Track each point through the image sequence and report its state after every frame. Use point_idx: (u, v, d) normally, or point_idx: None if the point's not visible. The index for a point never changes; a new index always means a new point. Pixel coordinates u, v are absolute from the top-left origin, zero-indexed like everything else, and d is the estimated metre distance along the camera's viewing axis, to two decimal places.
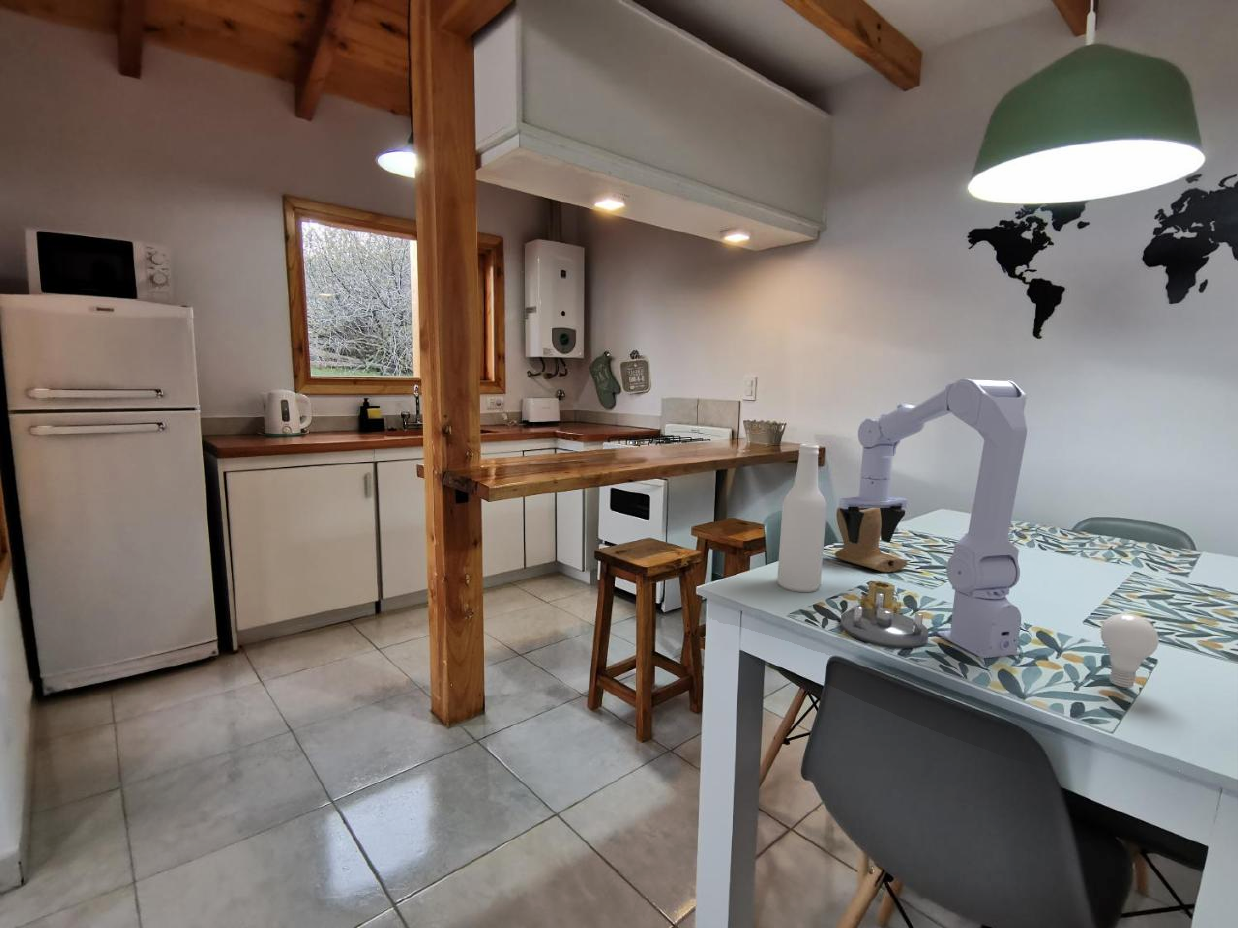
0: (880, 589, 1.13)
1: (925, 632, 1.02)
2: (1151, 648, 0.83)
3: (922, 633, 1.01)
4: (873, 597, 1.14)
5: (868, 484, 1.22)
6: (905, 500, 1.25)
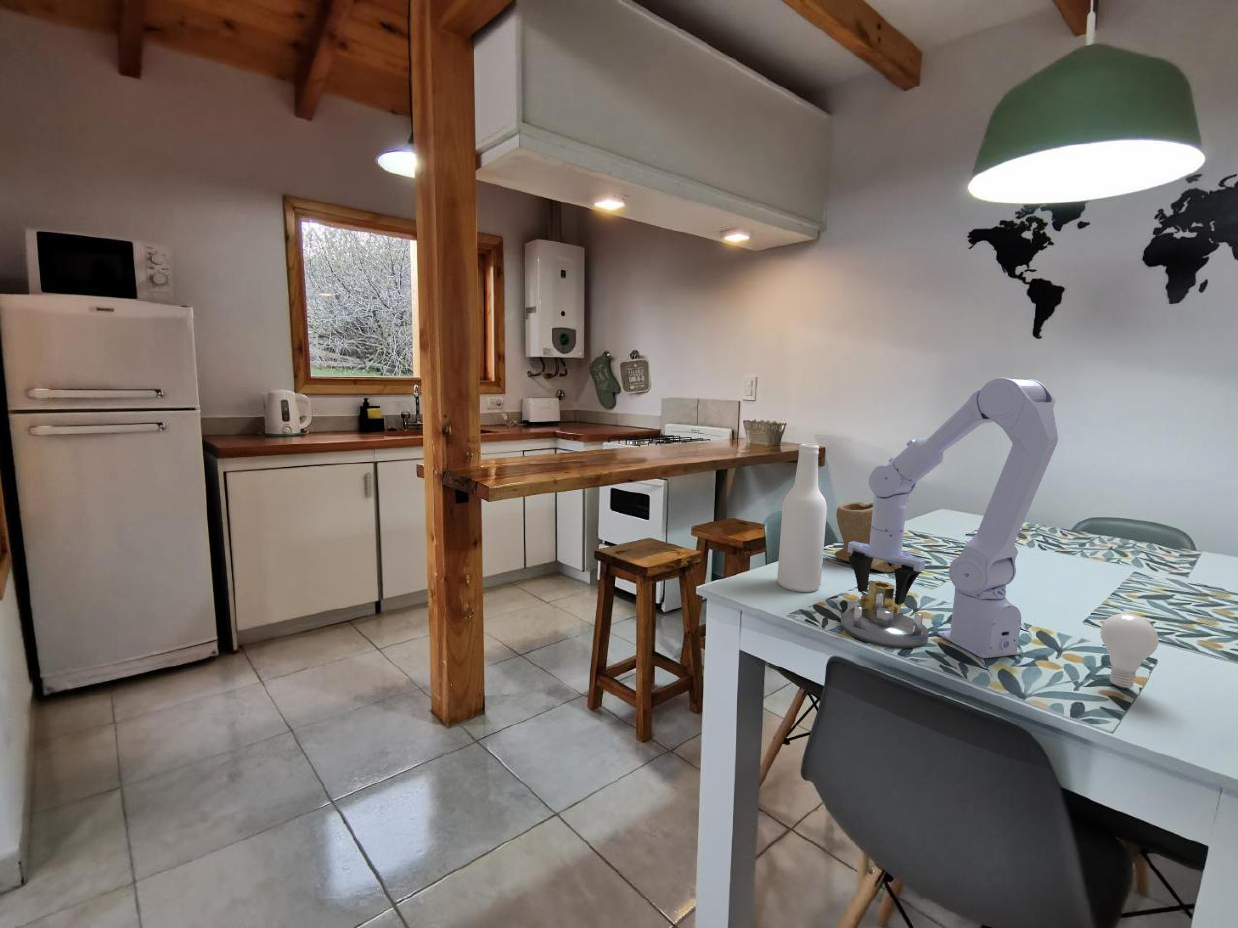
0: (880, 589, 1.13)
1: (925, 632, 1.02)
2: (1151, 648, 0.83)
3: (922, 633, 1.01)
4: (873, 597, 1.14)
5: None
6: (917, 562, 1.08)
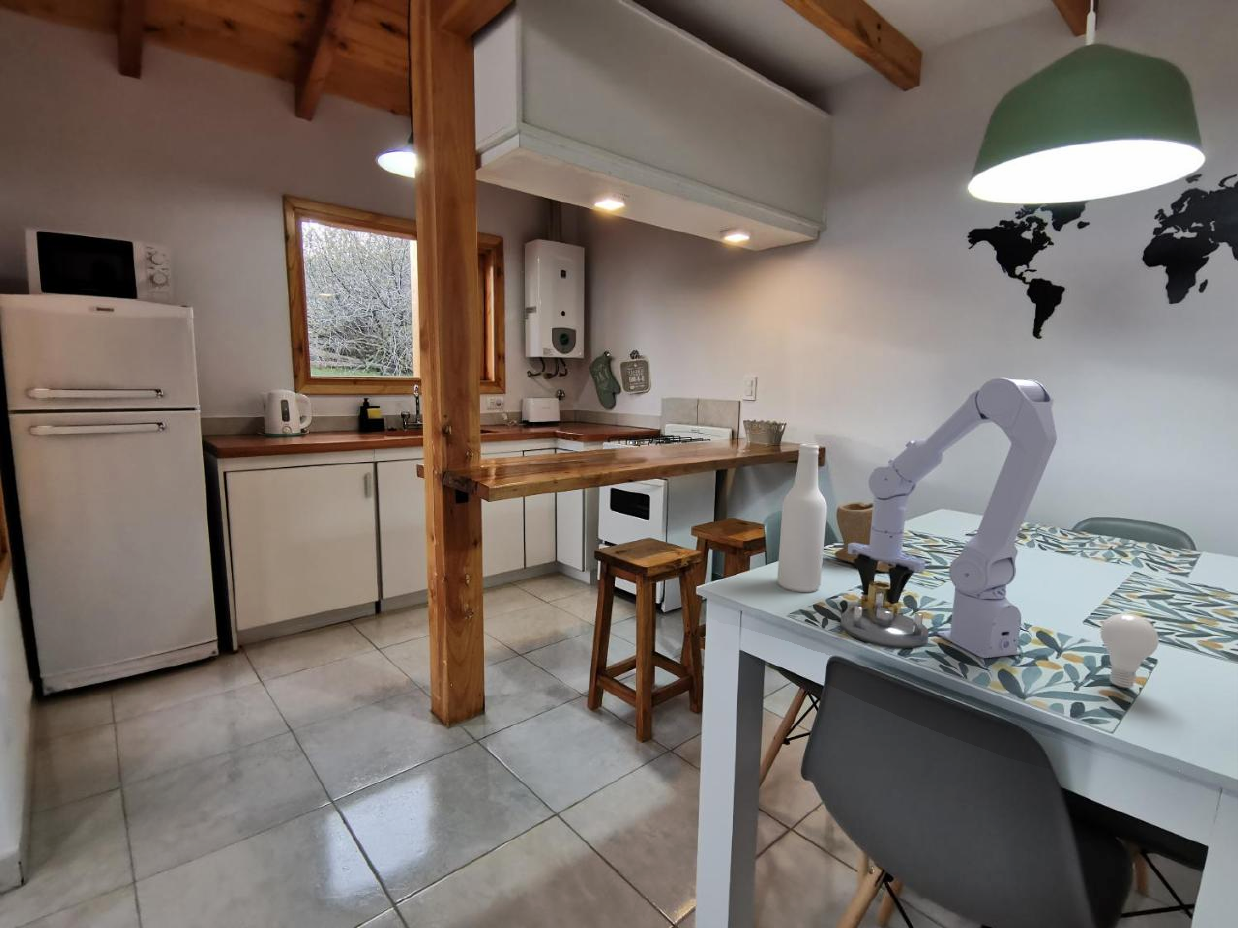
0: (880, 589, 1.13)
1: (925, 632, 1.02)
2: (1151, 648, 0.83)
3: (922, 633, 1.01)
4: (873, 597, 1.14)
5: None
6: (917, 563, 1.08)
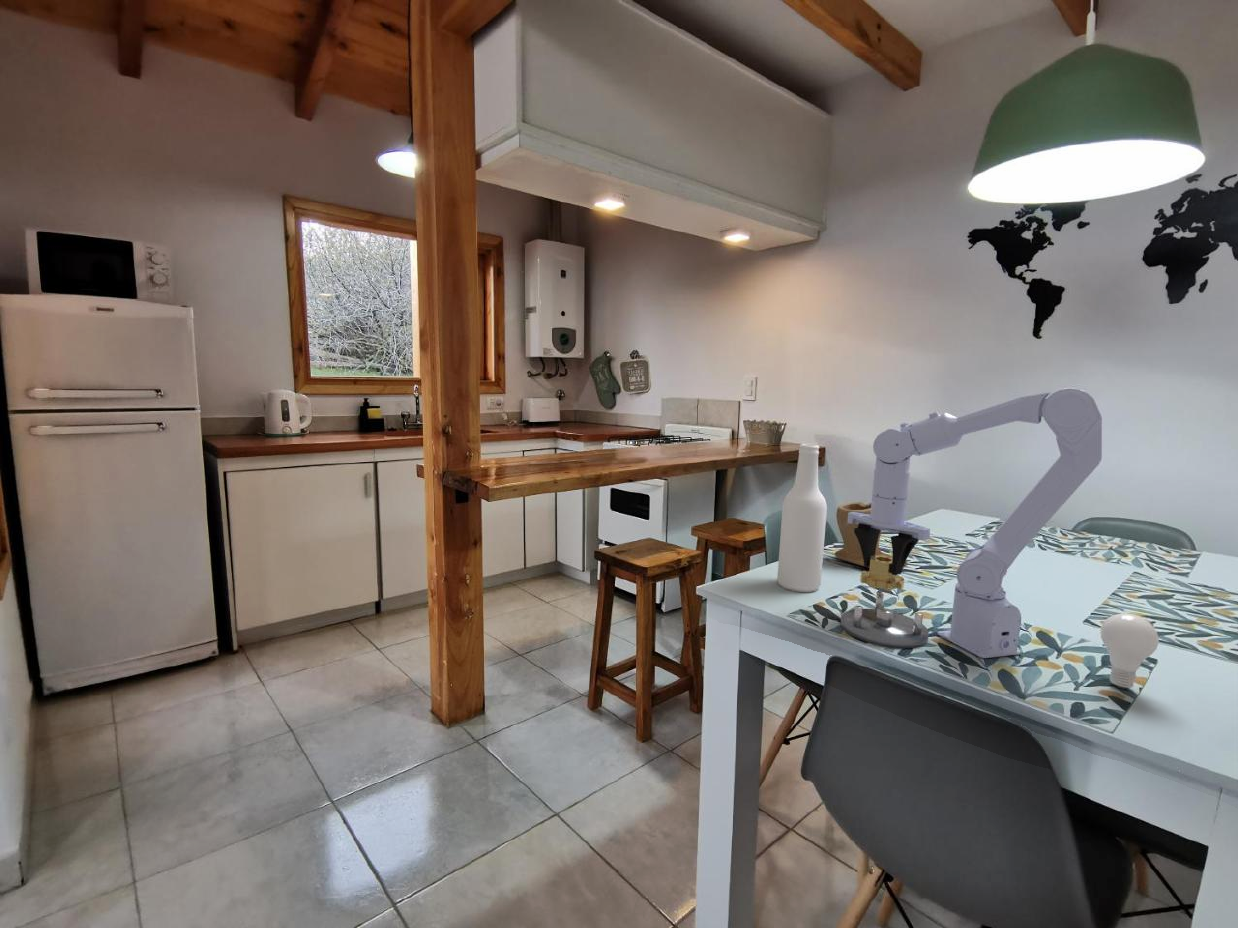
0: (883, 564, 1.07)
1: (925, 632, 1.02)
2: (1151, 648, 0.83)
3: (922, 633, 1.01)
4: (875, 572, 1.08)
5: None
6: (921, 530, 1.02)
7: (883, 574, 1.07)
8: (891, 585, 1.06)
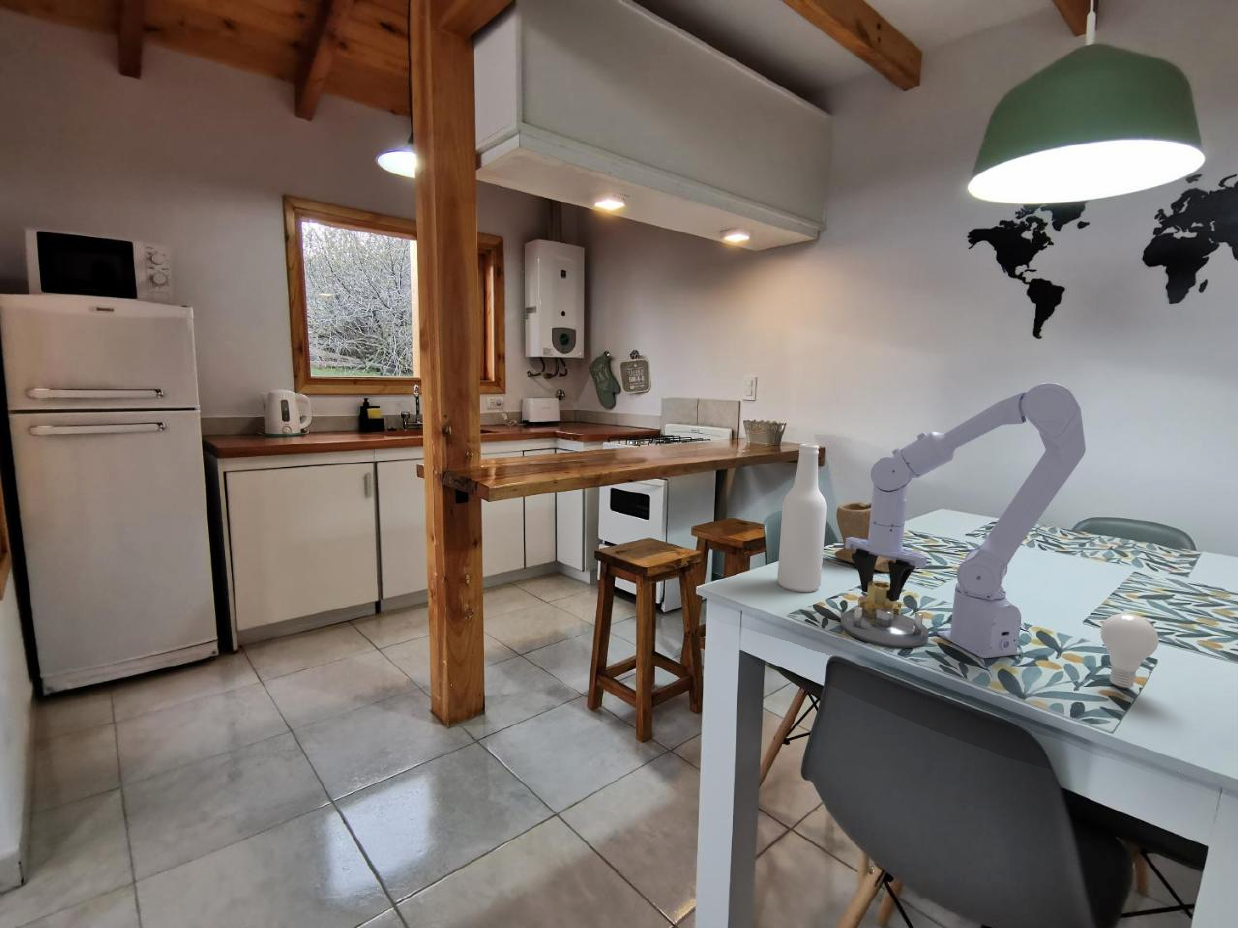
0: (880, 590, 1.07)
1: (925, 632, 1.02)
2: (1151, 648, 0.83)
3: (922, 633, 1.01)
4: (873, 598, 1.08)
5: (869, 526, 1.09)
6: (918, 558, 1.02)
7: (880, 600, 1.08)
8: None
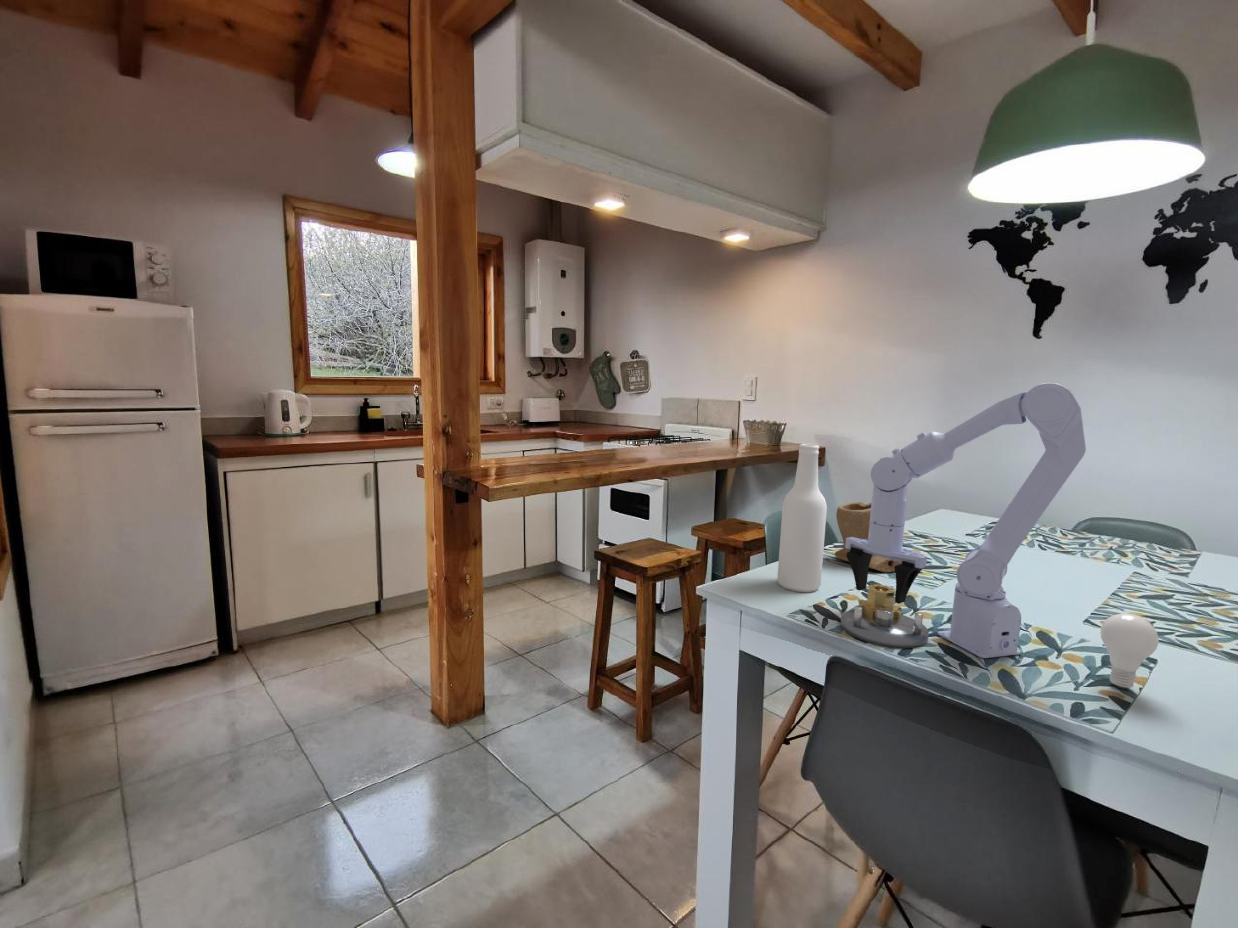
0: (881, 593, 1.08)
1: (925, 632, 1.02)
2: (1151, 648, 0.83)
3: (922, 633, 1.01)
4: (873, 602, 1.08)
5: (869, 526, 1.09)
6: (918, 558, 1.02)
7: (881, 603, 1.08)
8: None
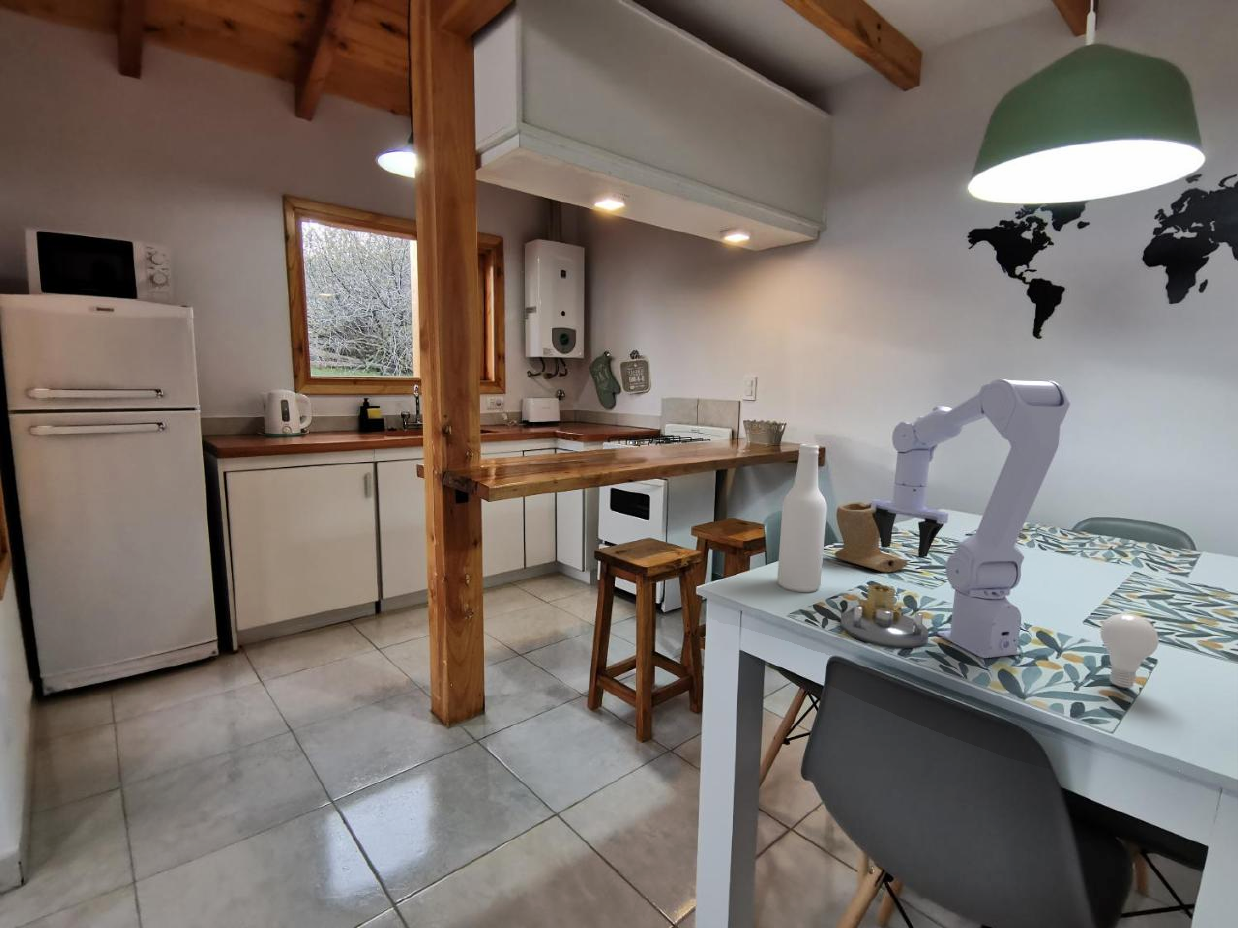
0: (881, 593, 1.08)
1: (925, 632, 1.02)
2: (1151, 648, 0.83)
3: (922, 633, 1.01)
4: (873, 602, 1.08)
5: (894, 487, 1.19)
6: (940, 515, 1.12)
7: (881, 603, 1.08)
8: None
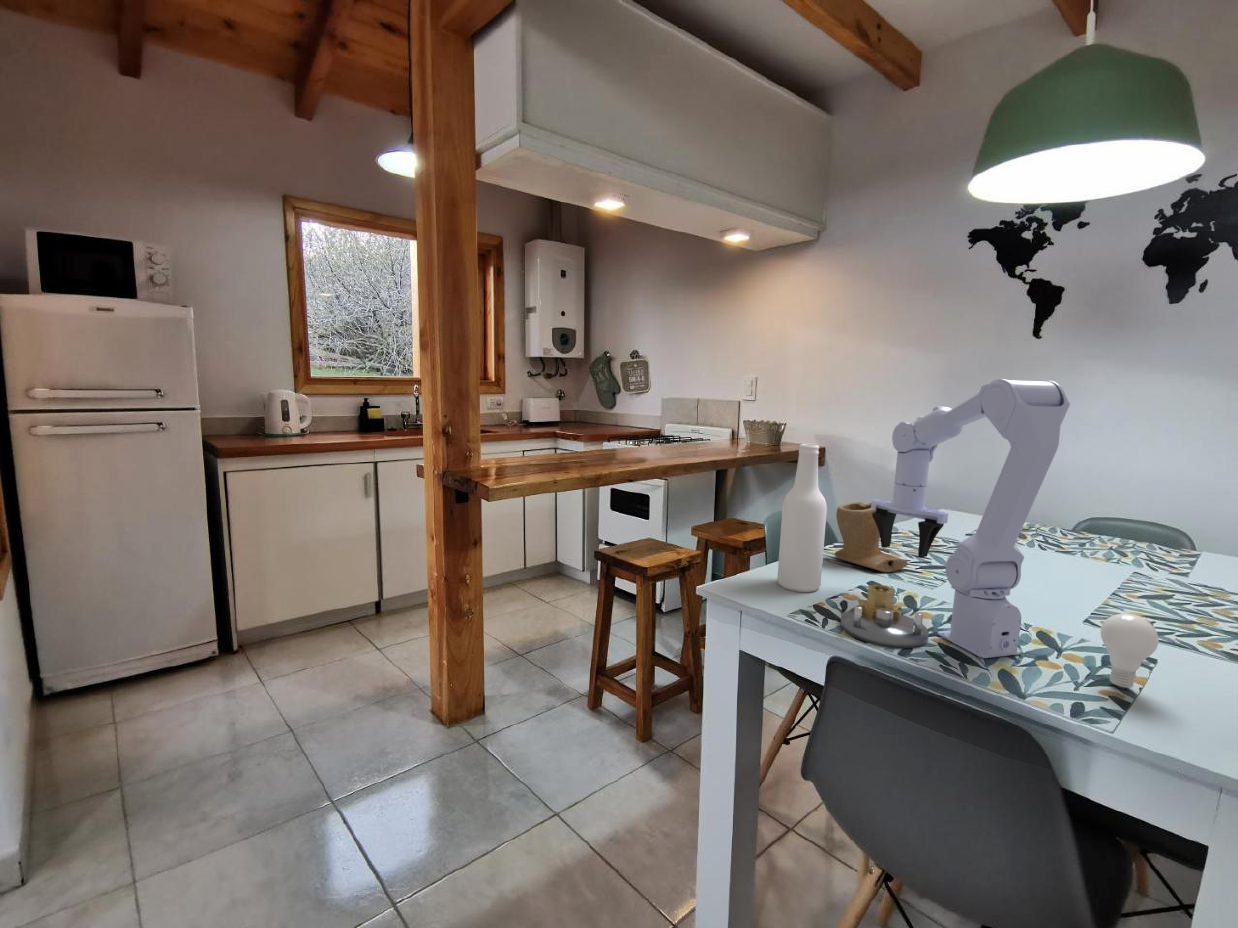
0: (881, 593, 1.08)
1: (925, 632, 1.02)
2: (1151, 648, 0.83)
3: (922, 633, 1.01)
4: (873, 602, 1.08)
5: (894, 487, 1.19)
6: (940, 515, 1.12)
7: (881, 603, 1.08)
8: None
